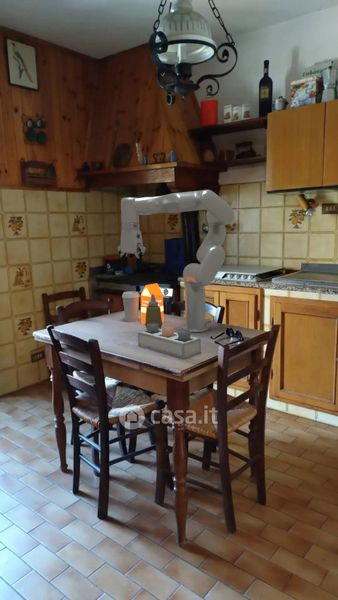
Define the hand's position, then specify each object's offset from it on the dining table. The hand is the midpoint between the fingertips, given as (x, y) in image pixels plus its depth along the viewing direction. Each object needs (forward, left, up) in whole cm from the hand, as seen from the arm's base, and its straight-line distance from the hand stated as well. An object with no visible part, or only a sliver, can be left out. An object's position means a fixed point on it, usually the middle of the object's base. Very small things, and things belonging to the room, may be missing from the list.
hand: (131, 266), depth 186 cm
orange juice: (-25, -15, -32) cm, 43 cm away
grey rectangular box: (+2, +24, -32) cm, 40 cm away
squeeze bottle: (-13, -1, -32) cm, 35 cm away
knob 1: (+2, +15, -28) cm, 32 cm away
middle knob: (+2, +24, -28) cm, 37 cm away
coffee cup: (-21, -27, -32) cm, 47 cm away
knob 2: (+2, +33, -28) cm, 44 cm away
